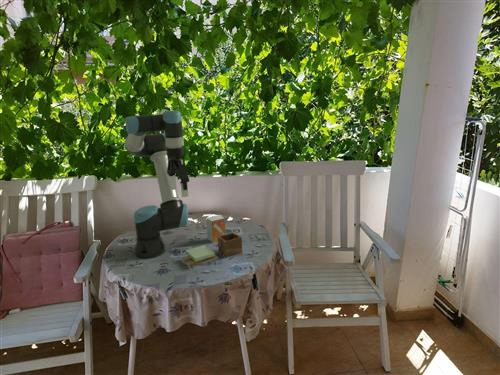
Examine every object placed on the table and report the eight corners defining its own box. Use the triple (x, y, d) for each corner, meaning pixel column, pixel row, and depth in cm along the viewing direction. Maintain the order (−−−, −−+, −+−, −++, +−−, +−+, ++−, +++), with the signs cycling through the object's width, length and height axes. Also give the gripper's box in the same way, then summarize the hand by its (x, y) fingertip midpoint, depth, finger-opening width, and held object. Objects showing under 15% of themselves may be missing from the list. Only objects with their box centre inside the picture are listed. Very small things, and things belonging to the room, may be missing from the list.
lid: (186, 255, 188) (185, 250, 188) (204, 250, 193) (204, 245, 193) (195, 264, 179) (195, 258, 179) (215, 258, 184) (214, 252, 184)
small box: (213, 244, 204) (211, 221, 200) (207, 240, 209) (205, 217, 205) (226, 240, 208) (225, 217, 204) (220, 236, 213) (219, 214, 210)
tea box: (218, 253, 193) (217, 236, 191) (234, 248, 198) (233, 232, 195) (226, 259, 187) (225, 242, 184) (242, 254, 191) (241, 237, 189)
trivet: (183, 260, 187) (182, 257, 187) (209, 252, 194) (209, 249, 194) (191, 268, 179) (191, 265, 179) (218, 260, 186) (218, 257, 186)
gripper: (194, 149, 161) (198, 198, 167) (172, 142, 181) (176, 185, 187) (177, 151, 157) (182, 201, 163) (157, 144, 178) (161, 188, 184)
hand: (179, 193), depth 175 cm, fingers open, 13 cm apart
